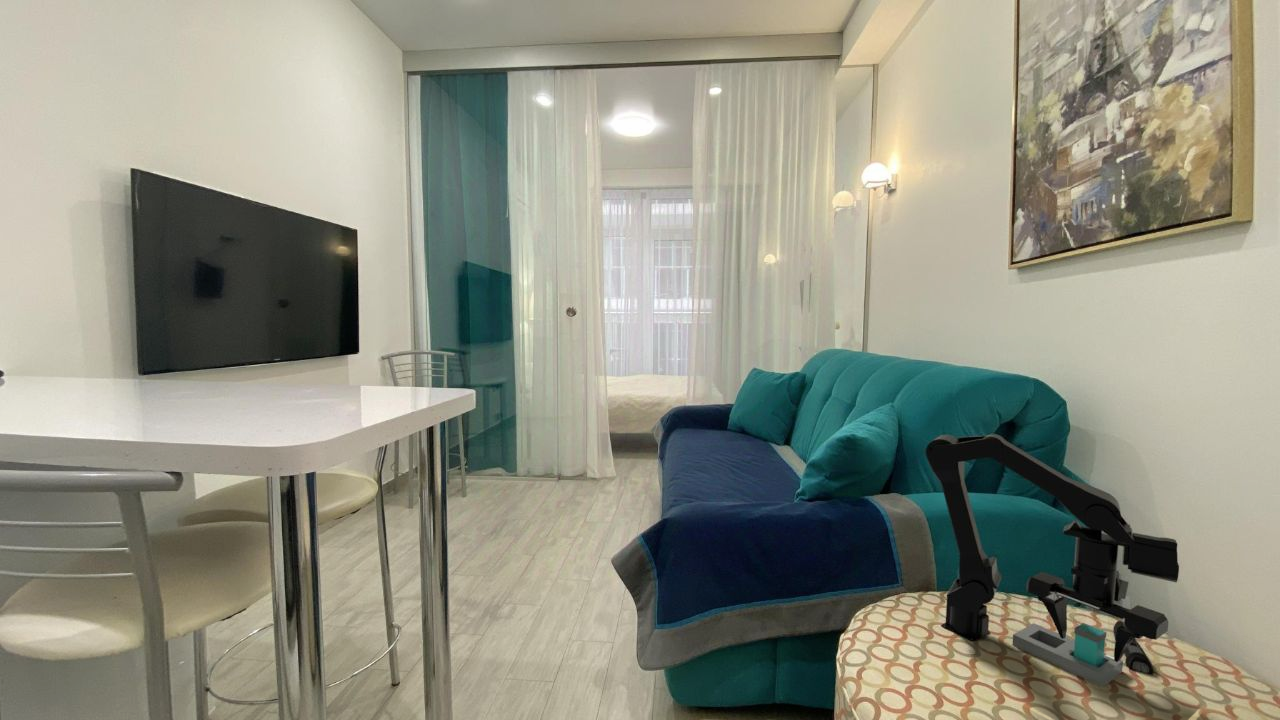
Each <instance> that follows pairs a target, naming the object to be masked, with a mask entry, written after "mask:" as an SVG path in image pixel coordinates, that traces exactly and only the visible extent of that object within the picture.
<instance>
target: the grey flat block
mask: <svg viewBox="0 0 1280 720" xmlns="http://www.w3.org/2000/svg"><path fill="white" fill-rule="evenodd" d="M1011 645H1012V646H1014V647H1016V648H1019V649H1021V650H1022V651H1025V652H1027V653H1029V654H1031V655H1033V656H1035V657H1038V658H1040V659H1042V660H1044V661H1047V662H1048V663H1050V664H1052V665H1055V666H1057V667H1059V668H1062V669H1063V670H1066V671H1068V672H1070V673H1072V674H1075V675H1077V676H1078V677H1081V678H1082V679H1085V680H1088V681H1089V682H1092V683H1093V684H1096V685H1098V686H1100V687H1104V686H1106V685H1108V684H1109V683H1110V682H1111V681H1112V680H1113V679H1116V678H1117V677H1118V676H1119V675H1120V674H1122V673H1123V665H1124V664H1123V663H1124V661H1123V660H1122V659H1120V661H1118V662H1116V661H1115V659H1114V655H1110V654H1108V653H1106V652H1104V661H1103V665H1102V666H1101V667H1099V668H1098V667H1096V666H1094V665H1091V664H1089V663H1087V662H1085V661H1082V660H1080V659H1078V658H1076V657H1074V646H1075V639H1072V638H1070V637H1067V636H1066V637H1065V638H1064V639H1062V638H1061V637H1060V635H1059V633H1058V632H1055V631H1053V630H1051V629H1048V628H1046V627H1044V626H1041V625H1039V624H1036V623H1031V624H1030V625H1028V626H1026V627H1024V628H1023V629H1020V630H1019V631H1017V632H1015V633H1013V634H1012V643H1011Z"/></svg>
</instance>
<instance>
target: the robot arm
mask: <svg viewBox="0 0 1280 720" xmlns="http://www.w3.org/2000/svg"><path fill="white" fill-rule="evenodd" d="M925 458H926V459H927V461H928V464H929V467H930V468H931V471H932V472H933V474H934V475H935V477H936V478H937V480H938V481H939V483H940V485H941V488H942V492H943V497H944V499H945V503H946V508H947V512H948V515H949V519H950V522H951V527H952V530H953V534H954V539H955V542H956V545H957V549H958V554H959V559H958V578H955V579H954V581H953V583H952V585H951V587H950V588H949V591H948V592H947V594H946V604H945V605H946V606H945V607H946V609H945V622H944V623H941V625H940V627H941V628H943V629H946V630H947V631H949V632H952V633H953V634H956V635H958V636H959V637H962V638H963V639H966V641H967V640H968V641H970V642H976V641H978V640H982V639H983V638H986V637H988V636H989V633H990V634H991V632H990V631H989V623H990V615H989V614H987V613H988V612H987V611H988V606H987V605H986V604H989V603H990V602H991V601H993V599H994V598H995V595H996V592H997V590H998V587H999V585H1000V583H1001V580H1002V577H1003V576H1002V574H1001V573H1000V572H999V569H998V564H997V563H998V561H997V557H995V556H992V557H988V555H987V554H986V552H985V551H984V549H983V546H982V542H981V538H980V535H979V531H978V527H977V524H976V523H977V522H976V519H975V516H974V513H973V509H972V505H971V500H970V497H969V493H968V489H967V486H966V482H965V463H966V462H968V461H973V460H974V461H975V460H979V459H986V458H989V459H990V458H991V459H992V460H994V461H996V462H997V463H999V464H1001V466H1004V467H1005V468H1007V469H1009V470H1010V471H1012V472H1013V473H1015V474H1016V475H1018V476H1020V477H1022V478H1023V479H1025V480H1027V481H1029V482H1030V483H1031V484H1033V485H1035V486H1036V487H1037V488H1039V489H1041V490H1043V492H1045V493H1048V494H1049V495H1050V496H1052V497H1054V498H1055V499H1056V500H1057V501H1058V502H1059V503H1060V504H1061V505H1062V506H1063V507H1064V508H1065V509H1066V510H1067V511H1068V512H1069V513H1070V514H1072V515H1073V516H1074V517H1075V518H1076V519H1077V520H1076V519H1074V520H1073V521H1072V522H1071V523H1069V524H1067V525H1064V527H1063V535H1065V536H1069V537H1073V538H1074V537H1075V548H1074V565H1073V566H1072V567H1071V568H1070V574H1072V576H1073V578H1072V588H1071V587H1068V586H1065V585H1066V583H1065V581H1064V579H1063V578H1062V577H1058V576H1056V575H1052V574H1049V573H1046V572H1044V571H1041V572H1040V573H1037V574H1035V575H1033V576H1031V577H1028V579H1027V581H1026V592H1027V593H1029V594H1032V595H1035V596H1037V600H1038V601H1039V602H1041V603H1043V605H1044V607H1045V608H1046V610H1047V612H1048V614H1049V615H1050V617H1051V619H1052V621H1053V624H1054V626H1055V628H1056V630H1057V633H1058V634H1059V635H1060V637H1061V638H1062V639H1064V638H1065V637H1067V632H1068V631H1067V630H1068V627H1067V626H1068V620H1067V619H1068V617H1067V616H1068V615H1067V614H1068V611H1067V610H1068V609H1067V608H1068V604H1069V600H1070V601H1072V602H1075V603H1079V604H1081V605H1083V606H1086V607H1090V608H1092V609H1094V610H1097V611H1100V612H1103V613H1105V614H1107V615H1111V616H1113V617H1116V618H1119V619H1122V622H1124V624H1123V625H1121V626H1120V627H1118V628H1117V632H1116V641H1115V640H1114V641H1115V642H1114V643H1115V644H1114V651H1113V652H1114V653H1113V657H1114V659H1115V661H1116V662H1118V661H1120V660H1122V658H1123V657H1124V655H1125V651H1126V649H1127V648H1128V646H1129V644H1130V643H1131V641H1132V640H1133V639H1134V638H1135V639H1138V640H1140V639H1142V638H1147V639H1149V640H1158V639H1159V638H1160V637H1162V636H1164V634H1166V633H1167V632H1168V629H1169V620H1168V617H1166V616H1165V614H1164V613H1162V612H1158V611H1156V610H1153V609H1151V608H1149V607H1144V606H1141V605H1140V604H1137V605H1135V606H1134V607H1132V608H1131V609H1130V608H1127V607H1124V606H1122V605H1118V604H1115V602H1118V603H1119V602H1120V601H1121V600H1122V599H1123V600H1126V596H1127V592H1128V586H1129V581H1126V580H1124V579H1120V573H1119V570H1117V568H1118V555H1119V554H1118V553H1119V546H1120V547H1122V555H1121V556H1122V557H1121V558H1122V559H1121V561H1122V562H1121V563H1122V565H1124V566H1127V570H1130V573H1132V574H1135V575H1141V576H1145V577H1148V578H1155V579H1159V580H1164V581H1168V582H1172V583H1177V582H1178V580H1179V572H1180V565H1179V564H1180V563H1178V542H1177V540H1176V539H1175V538H1170V537H1160V536H1159V537H1158V536H1152V535H1147V534H1141V533H1138V532H1137V533H1136V532H1133V528H1132V527H1131V525H1130V524H1129V523H1128V522H1127V521H1126V519H1124V517H1123V516H1122V513H1121V507H1120V503H1119V502H1118V499H1116V498H1115V496H1113V495H1112V494H1110V493H1109V492H1106V491H1104V490H1101V489H1100V488H1097V487H1095V486H1092V485H1090V484H1087V483H1085V482H1082V481H1078V480H1075V479H1072V478H1070V477H1069V476H1066V475H1064V474H1062V473H1061V472H1059V471H1057V470H1056V469H1054V468H1053V467H1050V466H1049V465H1048V464H1046V463H1044V462H1042V461H1041V460H1039V459H1037V458H1036V457H1034V456H1032V455H1031V454H1029V453H1027V452H1025V451H1024V450H1022V449H1020V447H1017V446H1015V445H1014V444H1012V443H1011V442H1009V441H1007V440H1006V439H1004V437H1002V436H1001V435H999V434H995V433H991V434H990V433H989V434H987V435H975V436H972V435H971V436H961V437H955V436H954V435H951V434H941V435H938V436H937V437H936V438H934V439H933V440H932V441H930V442H929V443H928V444H927V446H926V448H925ZM1078 520H1079V521H1078ZM1080 522H1081V523H1082V524H1083V525H1085V526H1083V525H1082V524H1081V523H1080ZM1102 532H1103V533H1102Z"/></svg>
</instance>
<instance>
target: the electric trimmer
mask: <svg viewBox="0 0 1280 720" xmlns="http://www.w3.org/2000/svg"><path fill="white" fill-rule="evenodd" d="M1123 624H1124V622H1123V620H1117V621H1116V622H1115V624H1114V626H1113V628H1112V629H1113V636H1114V641H1116V632H1117V628H1118V627H1120V626H1121V625H1123ZM1124 655H1125V661H1124V662H1125V666H1126V668H1128V669H1129V670H1131V671H1134V672H1137V673H1143V674H1147V675H1150V676H1154V667H1153V665H1152V662H1151V661H1150V659H1149V656H1147V654H1146V652H1145V651H1144V650H1143V647H1142V646H1141V645H1140V644H1139V642H1138V641H1137V640H1136V638H1134V639H1133V640H1132V641H1131V643H1130V644H1129V646H1128V648H1127V649H1126V651H1125V653H1124Z"/></svg>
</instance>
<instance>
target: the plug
mask: <svg viewBox="0 0 1280 720" xmlns="http://www.w3.org/2000/svg"><path fill="white" fill-rule="evenodd" d="M1106 638H1107V631H1105V630H1102V629H1100V628H1097V627H1095V626H1092V625H1089V624H1087V623H1085V622H1082V623H1081V624H1079V625H1078V626H1076V627H1075V628H1074V640H1075V646H1074V657H1076V658H1078V659H1080V660H1082V661H1085V662H1087V663H1089V664H1091V665H1094V666H1096V667H1098V668H1099V667H1101V666H1102V665H1103V661H1104V653H1105V645H1106V644H1105V643H1106Z"/></svg>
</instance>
